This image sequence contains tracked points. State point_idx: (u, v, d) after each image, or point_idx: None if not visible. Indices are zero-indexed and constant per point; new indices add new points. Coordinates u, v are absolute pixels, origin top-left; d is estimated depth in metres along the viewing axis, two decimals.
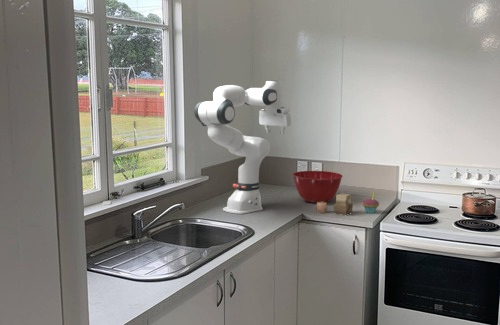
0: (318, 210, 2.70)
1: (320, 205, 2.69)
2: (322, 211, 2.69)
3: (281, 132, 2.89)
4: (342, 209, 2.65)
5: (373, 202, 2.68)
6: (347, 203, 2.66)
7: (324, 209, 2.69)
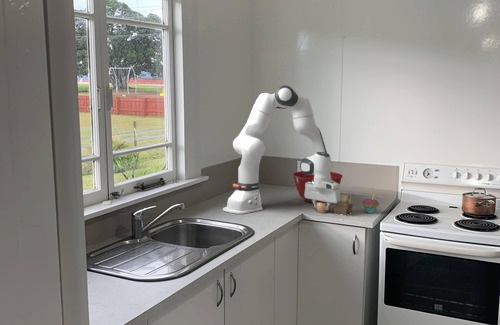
0: (318, 210, 2.70)
1: (320, 205, 2.69)
2: (322, 211, 2.69)
3: (326, 208, 2.69)
4: (342, 209, 2.65)
5: (373, 202, 2.68)
6: (347, 203, 2.67)
7: (324, 208, 2.69)
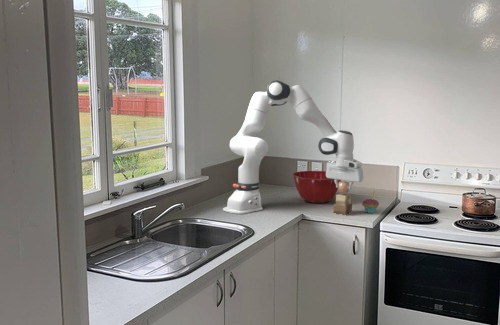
0: (340, 190, 2.66)
1: (342, 184, 2.65)
2: (344, 190, 2.65)
3: (349, 187, 2.65)
4: (342, 209, 2.65)
5: (373, 202, 2.68)
6: (347, 203, 2.67)
7: (346, 188, 2.65)
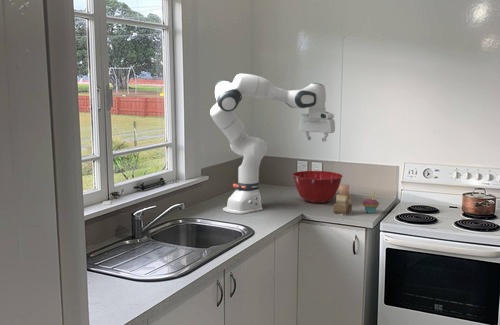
0: (340, 193, 2.66)
1: (343, 187, 2.65)
2: (345, 194, 2.65)
3: (323, 139, 2.68)
4: (342, 209, 2.65)
5: (373, 202, 2.68)
6: (347, 203, 2.66)
7: (347, 191, 2.65)
